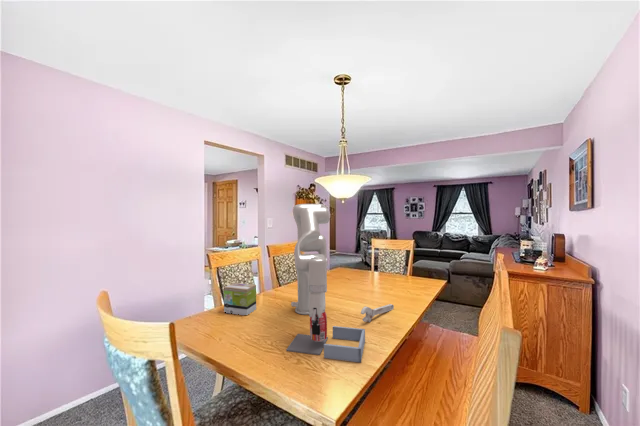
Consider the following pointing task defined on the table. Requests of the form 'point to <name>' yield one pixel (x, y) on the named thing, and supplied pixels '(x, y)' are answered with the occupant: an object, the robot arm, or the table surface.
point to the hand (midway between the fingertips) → (318, 329)
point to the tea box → (240, 298)
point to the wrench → (375, 311)
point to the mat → (306, 345)
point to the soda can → (322, 328)
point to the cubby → (346, 351)
